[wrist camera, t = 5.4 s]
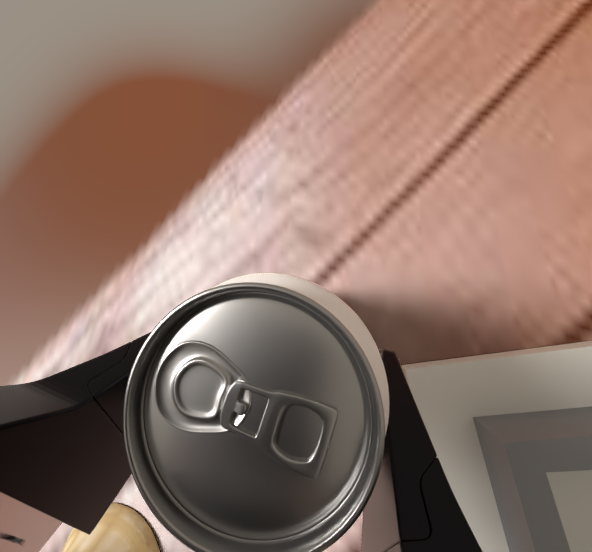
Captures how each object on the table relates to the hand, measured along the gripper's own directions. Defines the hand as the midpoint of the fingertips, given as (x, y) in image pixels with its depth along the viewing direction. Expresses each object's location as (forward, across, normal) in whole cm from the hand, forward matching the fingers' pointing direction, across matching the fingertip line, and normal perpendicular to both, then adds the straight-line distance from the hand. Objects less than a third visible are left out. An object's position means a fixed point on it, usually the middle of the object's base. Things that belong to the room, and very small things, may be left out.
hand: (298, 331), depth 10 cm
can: (+5, +1, +6) cm, 8 cm away
